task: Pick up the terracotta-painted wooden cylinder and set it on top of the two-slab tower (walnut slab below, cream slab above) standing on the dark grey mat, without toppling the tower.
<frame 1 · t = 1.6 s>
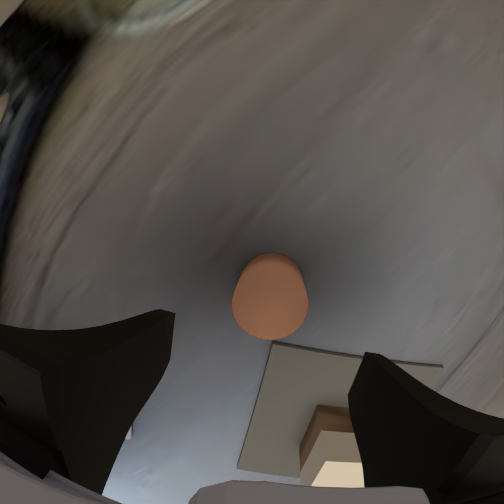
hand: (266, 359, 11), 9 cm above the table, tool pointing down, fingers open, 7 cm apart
mat: (336, 426, 22), on the table
tower mid: (342, 455, 19), point 3 cm above the table, touching tower base
tower base: (337, 430, 22), resting on mat, touching tower mid
cylinder: (271, 283, 20), on the table
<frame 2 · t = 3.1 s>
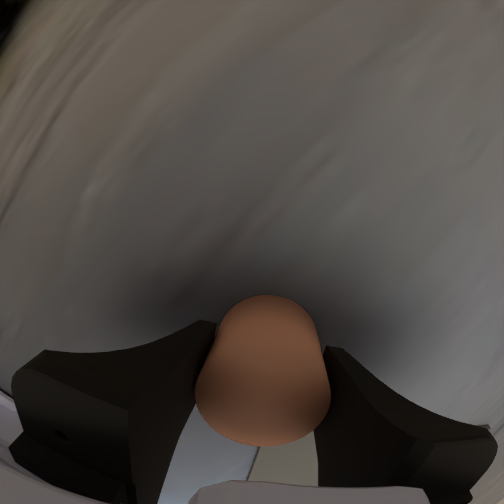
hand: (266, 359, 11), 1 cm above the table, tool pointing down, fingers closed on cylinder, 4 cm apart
mat: (350, 501, 14), on the table
cylinder: (267, 341, 12), on the table, touching gripper
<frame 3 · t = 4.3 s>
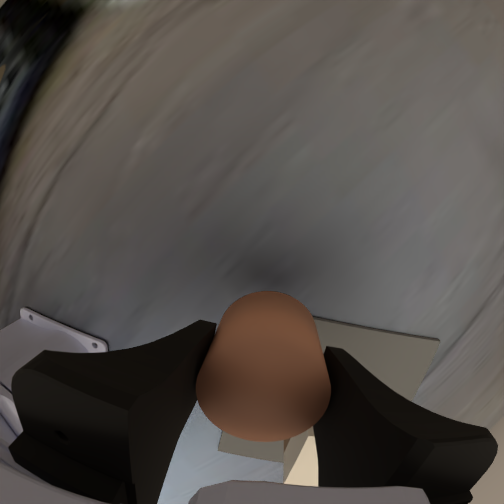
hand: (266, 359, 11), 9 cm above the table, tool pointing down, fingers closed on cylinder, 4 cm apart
mat: (324, 405, 21), on the table
tower mid: (329, 435, 18), point 3 cm above the table, touching tower base
cylinder: (267, 337, 12), point 7 cm above the table, touching gripper
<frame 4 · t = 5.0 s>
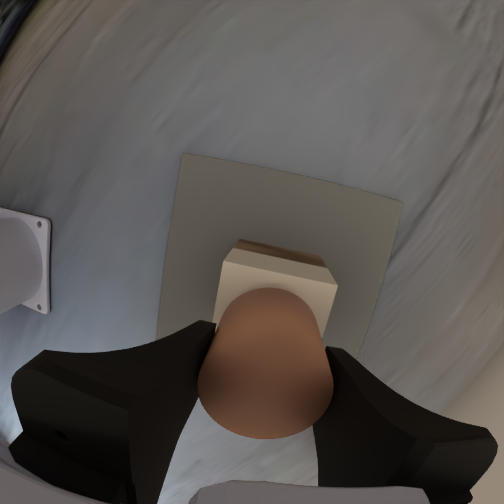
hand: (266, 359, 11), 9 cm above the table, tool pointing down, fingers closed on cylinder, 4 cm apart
mat: (271, 284, 20), on the table
tower mid: (270, 303, 17), point 3 cm above the table, touching tower base
tower base: (271, 286, 20), resting on mat, touching tower mid
cylinder: (268, 334, 12), point 8 cm above the table, touching gripper
when the fingers open (9 cm above the table, at t = 5.6 s): cylinder stays where it is, resting on tower mid.
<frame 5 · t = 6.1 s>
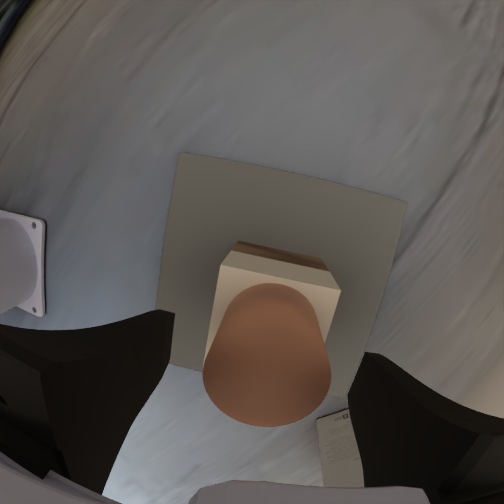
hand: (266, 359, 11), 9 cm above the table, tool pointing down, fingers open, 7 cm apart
mat: (271, 287, 19), on the table
tower mid: (270, 307, 16), point 3 cm above the table, touching cylinder, tower base
tower base: (271, 289, 19), resting on mat, touching tower mid
cylinder: (270, 328, 13), point 6 cm above the table, touching tower mid
skincare box: (348, 432, 22), on the table
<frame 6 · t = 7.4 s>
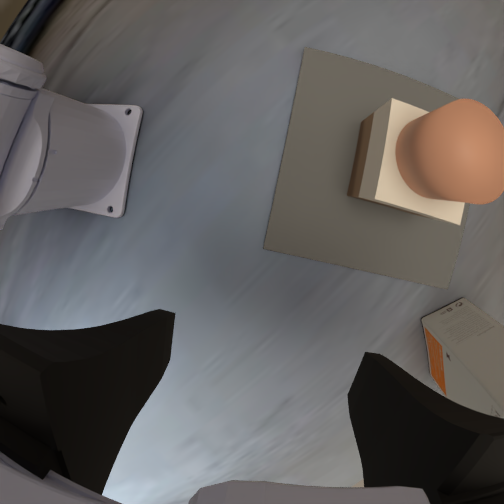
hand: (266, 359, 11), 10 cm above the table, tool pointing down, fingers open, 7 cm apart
mat: (387, 168, 19), on the table
tower mid: (407, 165, 16), point 3 cm above the table, touching cylinder, tower base
tower base: (389, 168, 19), resting on mat, touching tower mid
cylinder: (431, 157, 13), point 6 cm above the table, touching tower mid
skincare box: (445, 337, 21), on the table
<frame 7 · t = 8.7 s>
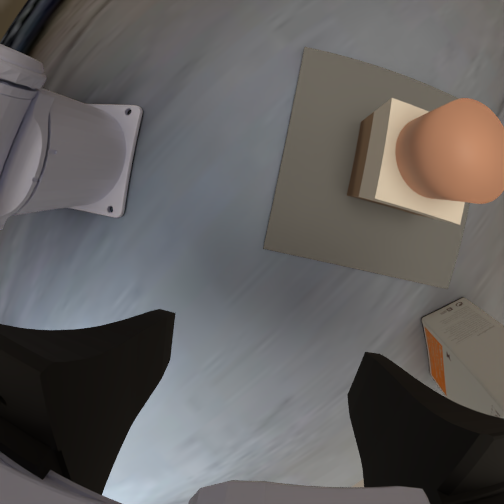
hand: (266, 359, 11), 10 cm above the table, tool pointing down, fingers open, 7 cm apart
mat: (387, 168, 19), on the table
tower mid: (407, 165, 16), point 3 cm above the table, touching cylinder, tower base
tower base: (389, 168, 19), resting on mat, touching tower mid
cylinder: (431, 157, 13), point 6 cm above the table, touching tower mid
skincare box: (445, 337, 21), on the table
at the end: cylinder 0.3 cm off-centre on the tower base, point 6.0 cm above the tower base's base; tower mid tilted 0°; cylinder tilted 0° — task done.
